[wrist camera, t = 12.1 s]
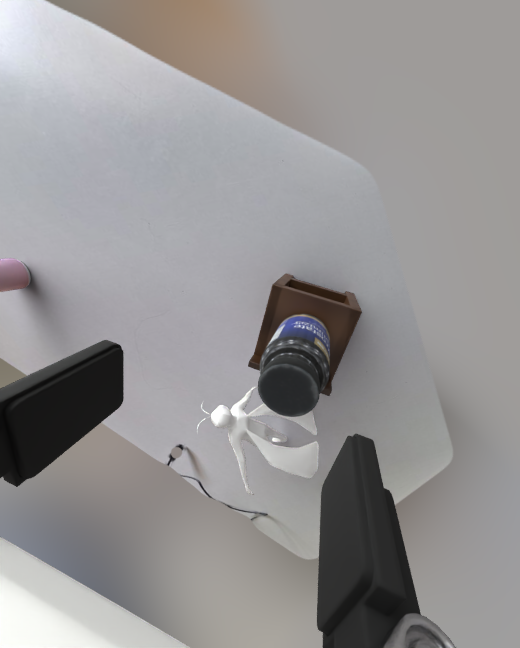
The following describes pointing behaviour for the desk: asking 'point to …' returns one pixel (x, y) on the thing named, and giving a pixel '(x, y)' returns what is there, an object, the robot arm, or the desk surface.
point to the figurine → (256, 433)
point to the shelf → (313, 300)
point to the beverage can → (13, 275)
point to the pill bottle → (295, 366)
